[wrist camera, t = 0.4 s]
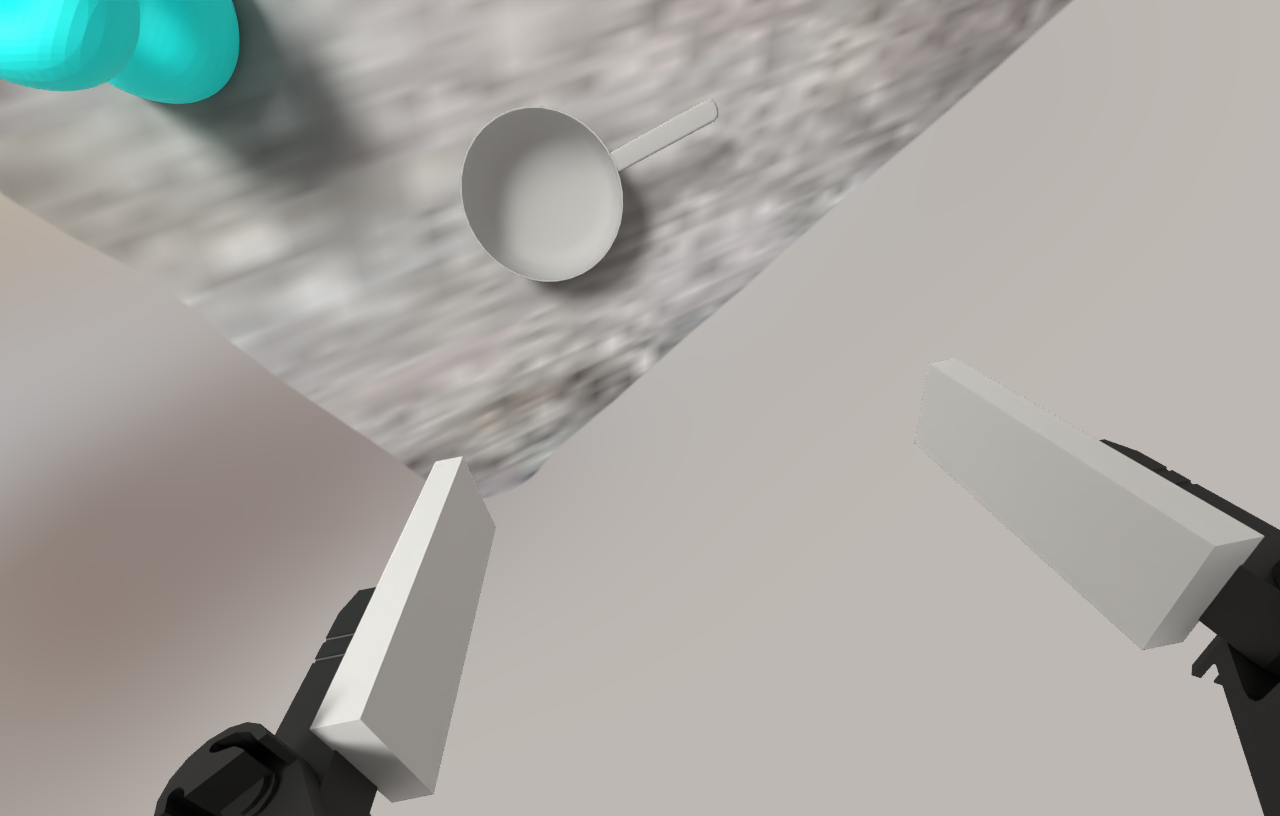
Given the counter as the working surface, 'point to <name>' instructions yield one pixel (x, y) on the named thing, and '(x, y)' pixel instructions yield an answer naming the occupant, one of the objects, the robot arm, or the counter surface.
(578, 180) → the saucepan
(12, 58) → the donuts
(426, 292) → the counter surface
